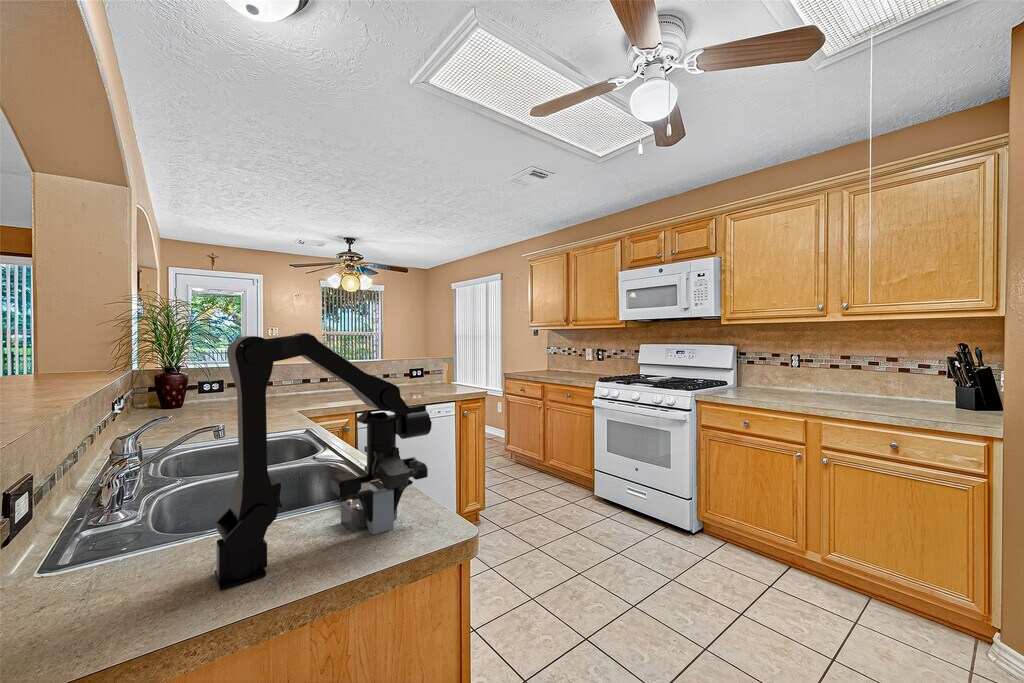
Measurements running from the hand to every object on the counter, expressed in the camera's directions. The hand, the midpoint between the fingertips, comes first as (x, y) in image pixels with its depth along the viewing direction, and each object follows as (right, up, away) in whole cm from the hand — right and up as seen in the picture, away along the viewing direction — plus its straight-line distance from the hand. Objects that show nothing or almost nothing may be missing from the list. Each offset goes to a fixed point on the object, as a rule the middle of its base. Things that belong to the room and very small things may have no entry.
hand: (381, 518), depth 89 cm
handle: (-2, -3, +2) cm, 4 cm away
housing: (-4, -3, +5) cm, 7 cm away
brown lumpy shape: (-12, -3, +16) cm, 20 cm away
